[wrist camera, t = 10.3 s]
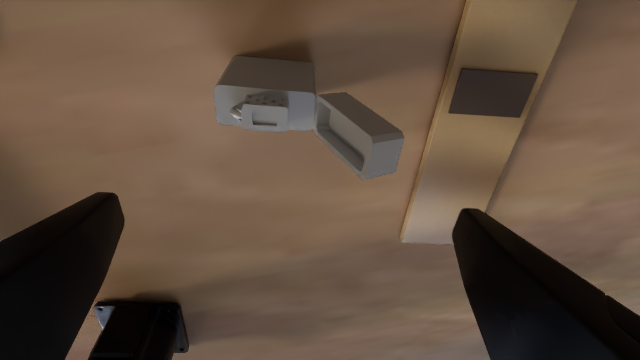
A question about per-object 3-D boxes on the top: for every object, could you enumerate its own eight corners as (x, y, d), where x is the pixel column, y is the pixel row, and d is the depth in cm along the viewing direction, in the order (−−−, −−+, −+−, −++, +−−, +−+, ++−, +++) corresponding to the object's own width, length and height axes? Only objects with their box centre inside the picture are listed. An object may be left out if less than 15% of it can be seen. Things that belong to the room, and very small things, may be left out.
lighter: (233, 88, 19) (193, 171, 12) (231, 55, 18) (187, 125, 11) (365, 99, 19) (397, 184, 13) (371, 67, 18) (409, 141, 12)
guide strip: (467, 239, 25) (471, 247, 25) (399, 237, 25) (401, 244, 24) (653, -193, 13) (670, -200, 12) (525, -211, 13) (536, -218, 12)
